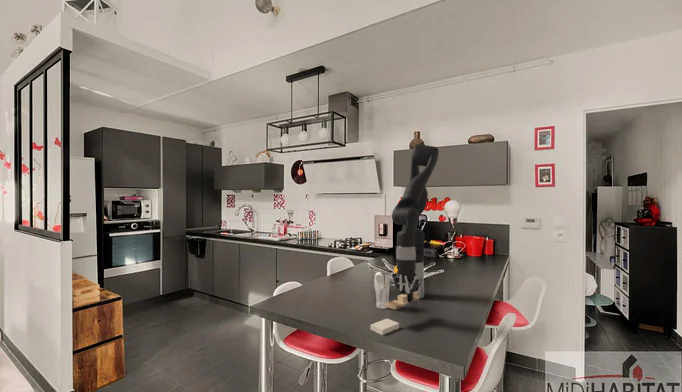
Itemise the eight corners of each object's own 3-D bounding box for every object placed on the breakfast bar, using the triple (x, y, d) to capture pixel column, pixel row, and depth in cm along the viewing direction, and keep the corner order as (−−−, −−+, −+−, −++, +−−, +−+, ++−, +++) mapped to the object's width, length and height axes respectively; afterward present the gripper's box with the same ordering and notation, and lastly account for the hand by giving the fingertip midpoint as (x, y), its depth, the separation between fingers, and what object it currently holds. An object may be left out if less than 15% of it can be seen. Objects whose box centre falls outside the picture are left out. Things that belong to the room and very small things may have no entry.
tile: (387, 324, 120) (370, 330, 114) (387, 318, 120) (370, 324, 114) (399, 329, 115) (382, 336, 109) (399, 323, 115) (382, 329, 110)
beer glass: (372, 308, 136) (372, 274, 137) (376, 303, 143) (376, 271, 143) (388, 310, 134) (388, 275, 134) (391, 305, 140) (391, 272, 141)
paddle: (411, 297, 129) (411, 289, 129) (421, 300, 125) (421, 292, 125) (384, 306, 118) (384, 298, 119) (394, 309, 115) (394, 301, 115)
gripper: (386, 256, 126) (387, 298, 126) (414, 261, 115) (415, 307, 115) (398, 254, 131) (399, 295, 131) (426, 258, 120) (427, 303, 120)
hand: (406, 300), depth 123 cm, fingers closed on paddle, 2 cm apart
